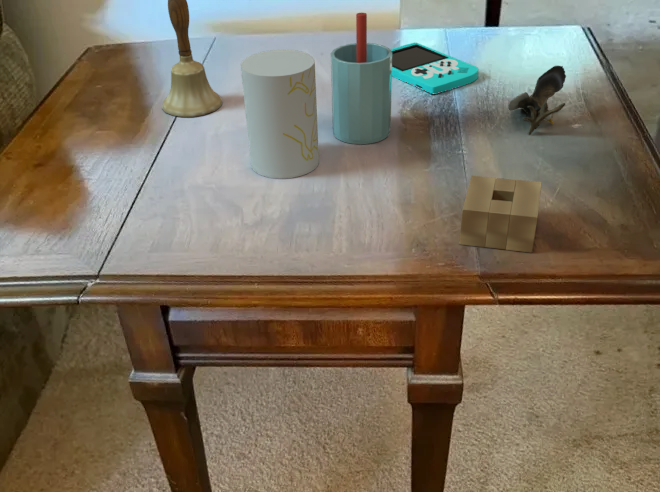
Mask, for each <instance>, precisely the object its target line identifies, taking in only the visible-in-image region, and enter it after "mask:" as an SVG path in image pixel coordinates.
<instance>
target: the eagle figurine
mask: <svg viewBox="0 0 660 492" xmlns="http://www.w3.org/2000/svg"><path fill="white" fill-rule="evenodd" d="M566 78H567V75H566V70H565V67H563V65H554V66H552V67H550V68H549V69H548V70H546V71H545V72H544V73H542V75H540V76H539V77H538V78H537V79H536V83H535V86H534V89H533V93H532V94H529V93H528V92H523V93H521V94H518V95H516V96H514V97H513V98H511V99H510V101H509V103H508V106H507V107H508V108H507V109H508V111H511V112H514V111H516V110H518V109H522V110H523V111H525V114H526V116H525V117H524V116H523V118H522V120H524V121H528V122H529V123H530V125H529V130H528V133H527V134H528V136H530V135H532V133H533V132H534V131H535V130H537V128H538V127H539V126H540V124H541V123H542V121H547V122H548V123H549V124H551V125H552V126H553V125H554V121H553V114H555V113H558V112H559V111H561V110H562V109H563V108H564V107H565V106H566V102H562V103H561V104H559V105H558V106H556V107H554V108H552V109H549V105H548V100H549V99H550V98H551V97H554V95H555V94H556V93H558V92H560V91H561V90H562V89H563V87H564V83H565V82H566Z"/></svg>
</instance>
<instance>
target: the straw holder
mask: <svg viewBox="0 0 660 492" xmlns="http://www.w3.org/2000/svg"><path fill="white" fill-rule="evenodd" d="M542 186H543V185H542V181H533V180H522V179H510V178H499V177H492V176H491V177H490V176H480V175H471V176H470V180H469V184H468V187H467V190H466V195H465V199H464V202H463V204H462V205H463V206H462V209H461V222H460V231H459V243H458V245H462V246H470V247H479V248H488V249H489V248H490V249H497V250H506V251H513V252H514V251H515V252H522V253H531V254H532V253H533V249H534V242H535V236H536V231H537V226H538V225H537V224H538V219H539V210H540V201H541V193H542Z"/></svg>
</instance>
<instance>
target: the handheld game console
mask: <svg viewBox="0 0 660 492" xmlns="http://www.w3.org/2000/svg"><path fill="white" fill-rule="evenodd" d="M389 49H390V50H391V52H392V78H395V79H397V80H399V79H400V81H401V80H402V81H401V82H403V81H404V83H406V82H407V83H406V84H408V83H410V84H413V85H415V86H417V87H419V88H422V89H424V90H426V91H428V92H430V93H438V92H441V91H445V90H448V91H451V90H450V89H452V88H455V87H458V86H461V87H463V86H462V85H464V86H466V85H465V84H467V85H469V84H472V83H474V82H476V80H477V79H478V78H479V72H480V71H479V70H480V69H479V67H477V66H475V65H473V64H471V63H468V62H467V61H463V60H461V59H458V58H456V57H454V56H451V55H449V54H446V53H443V52H441V51H438V50H436V49H434V48H431V47H429V46H426V45H423V44H421V43H420V42H416V41H414V42H410V43H406V44H402V45H399V46H396V47H391V48H389ZM471 82H472V83H471ZM468 83H469V84H468ZM410 84H409V85H410ZM458 88H459V87H458ZM455 89H456V88H455ZM452 90H453V89H452ZM445 92H446V91H445Z"/></svg>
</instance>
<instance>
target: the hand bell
mask: <svg viewBox="0 0 660 492" xmlns="http://www.w3.org/2000/svg"><path fill="white" fill-rule="evenodd" d="M189 10H190V9H189V5H188V1H187V0H167V12H168V16H169V21H170V24H171V25H172V28H173V30H174V32H175V35H176V41H177V42H176V43H177V50H178V57H179V61H178V62H176V63H175V64H174V65H172V66H171V68H170V88H169V92H168V95H167V96H166V97H165V98H164V100H163V102H162V107H161V108H162V110H163V112H164V113H166V114H168V115H171V116H173V117H178V118H179V117H180V118H194V117H196V118H197V117H200V116H201V117H202V116H206V115H208V114H212V113H213V112H216V111H217V110H219V109H220V108H221V106H222V104H223V99H222V97H221V96H220V94H219V93H217V92H216V91H215V90H214V89H213V88H212V86H211V85H210V83H209V80H208V77H207V74H206V70H205V69H206V68H205V66H204V65H203V63H202V62H199V61H197V60H194V57H193V54H192V48H191V43H190V37H189V28H190V11H189Z"/></svg>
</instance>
